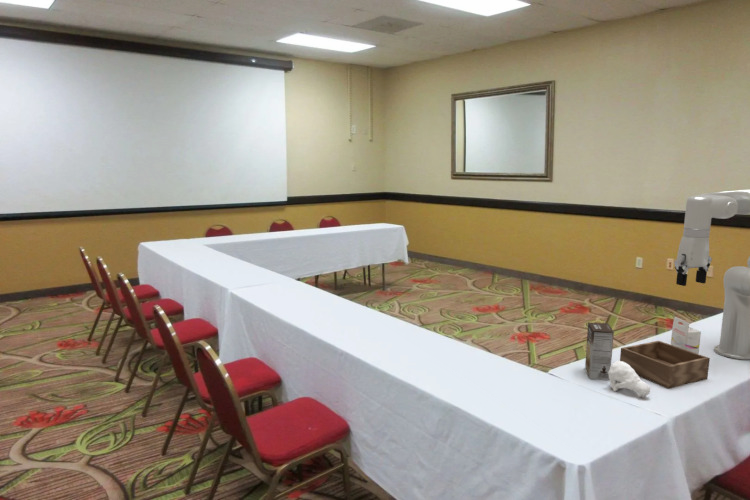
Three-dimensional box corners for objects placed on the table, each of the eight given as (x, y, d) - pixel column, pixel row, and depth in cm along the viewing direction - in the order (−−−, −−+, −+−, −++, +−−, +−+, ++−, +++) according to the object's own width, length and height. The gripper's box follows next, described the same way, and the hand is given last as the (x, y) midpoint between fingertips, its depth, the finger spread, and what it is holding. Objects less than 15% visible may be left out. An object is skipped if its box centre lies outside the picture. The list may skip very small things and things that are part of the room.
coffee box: (584, 368, 178) (587, 321, 175) (604, 369, 176) (608, 323, 174) (589, 379, 169) (592, 330, 166) (610, 381, 167) (614, 331, 165)
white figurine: (619, 356, 164) (658, 372, 155) (614, 382, 166) (652, 399, 157) (607, 361, 160) (647, 377, 151) (603, 386, 162) (641, 404, 153)
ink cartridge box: (698, 365, 181) (703, 323, 179) (684, 365, 180) (688, 323, 178) (682, 356, 189) (686, 315, 187) (668, 356, 189) (672, 316, 187)
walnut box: (656, 360, 185) (658, 340, 184) (707, 379, 169) (709, 358, 168) (619, 368, 178) (620, 347, 177) (668, 388, 162) (670, 366, 161)
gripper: (702, 231, 185) (697, 279, 187) (668, 233, 177) (663, 283, 180) (724, 233, 178) (718, 284, 181) (689, 236, 171) (683, 288, 174)
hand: (690, 283), depth 180 cm, fingers open, 9 cm apart
